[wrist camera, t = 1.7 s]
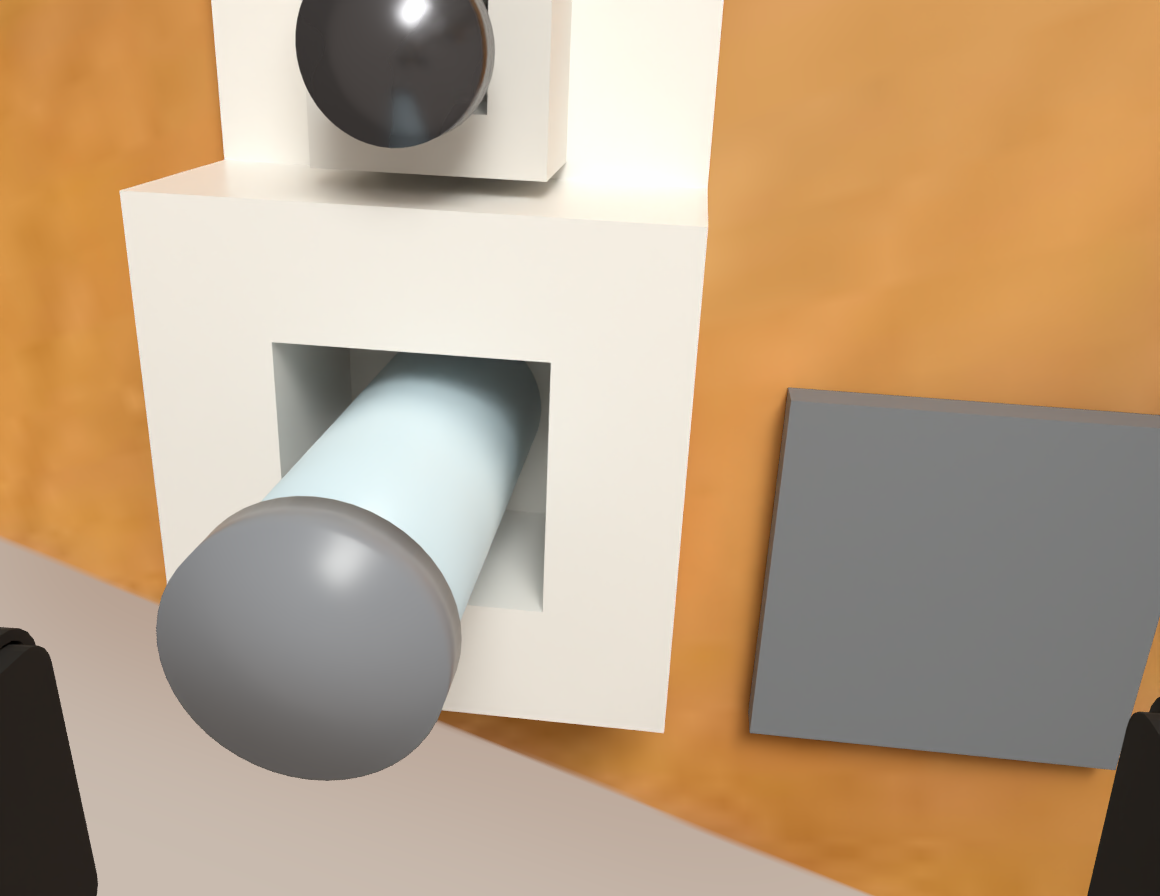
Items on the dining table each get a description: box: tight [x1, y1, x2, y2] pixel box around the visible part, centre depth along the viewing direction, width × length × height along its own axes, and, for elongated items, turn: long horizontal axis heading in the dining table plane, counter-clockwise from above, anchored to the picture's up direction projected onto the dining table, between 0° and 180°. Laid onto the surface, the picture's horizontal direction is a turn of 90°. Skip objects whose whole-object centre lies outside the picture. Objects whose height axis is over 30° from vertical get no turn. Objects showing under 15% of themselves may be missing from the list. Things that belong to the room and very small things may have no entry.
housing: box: [120, 0, 724, 733], centre depth 29 cm, size 20×14×7 cm
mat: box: [748, 388, 1160, 770], centre depth 34 cm, size 12×12×1 cm
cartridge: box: [156, 352, 541, 781], centre depth 26 cm, size 6×6×14 cm
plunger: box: [295, 0, 495, 148], centre depth 25 cm, size 4×4×6 cm
